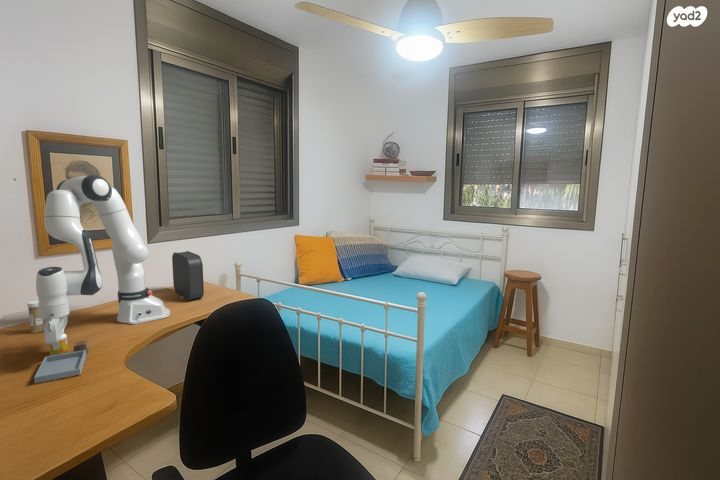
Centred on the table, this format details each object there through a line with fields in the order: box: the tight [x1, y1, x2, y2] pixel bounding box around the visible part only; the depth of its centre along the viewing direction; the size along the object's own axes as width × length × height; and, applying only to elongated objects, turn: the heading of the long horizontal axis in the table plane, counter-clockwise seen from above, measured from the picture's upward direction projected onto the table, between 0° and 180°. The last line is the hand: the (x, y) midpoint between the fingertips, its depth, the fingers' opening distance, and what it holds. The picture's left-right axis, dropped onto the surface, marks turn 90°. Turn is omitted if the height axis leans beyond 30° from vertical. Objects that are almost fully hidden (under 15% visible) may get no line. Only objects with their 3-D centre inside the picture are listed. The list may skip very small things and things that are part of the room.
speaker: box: [171, 250, 205, 301], centre depth 211 cm, size 25×9×25 cm, turn 46°
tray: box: [33, 350, 88, 384], centre depth 130 cm, size 12×16×2 cm
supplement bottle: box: [48, 329, 69, 356], centre depth 140 cm, size 5×5×10 cm
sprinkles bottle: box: [27, 299, 45, 334], centre depth 159 cm, size 5×5×14 cm
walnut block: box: [72, 340, 89, 355], centre depth 142 cm, size 4×4×4 cm
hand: (58, 345), depth 140 cm, fingers closed on supplement bottle, 5 cm apart
